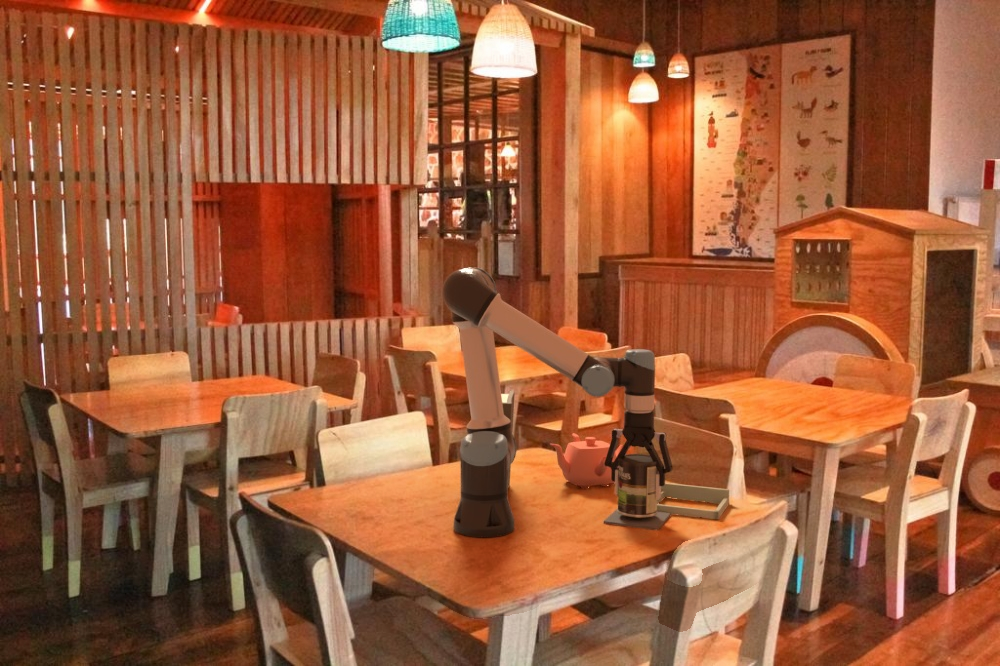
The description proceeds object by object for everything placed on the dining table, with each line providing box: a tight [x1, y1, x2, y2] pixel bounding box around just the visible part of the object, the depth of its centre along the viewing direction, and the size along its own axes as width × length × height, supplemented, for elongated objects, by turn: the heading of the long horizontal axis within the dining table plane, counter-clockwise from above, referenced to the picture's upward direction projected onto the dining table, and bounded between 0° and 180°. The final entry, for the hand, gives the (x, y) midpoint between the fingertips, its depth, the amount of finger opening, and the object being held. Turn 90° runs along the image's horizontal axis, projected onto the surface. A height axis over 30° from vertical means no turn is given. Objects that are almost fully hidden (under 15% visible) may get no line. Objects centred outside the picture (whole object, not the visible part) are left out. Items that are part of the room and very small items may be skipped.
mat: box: [603, 507, 672, 531], centre depth 246 cm, size 14×14×1 cm
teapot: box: [549, 432, 624, 489], centre depth 280 cm, size 18×18×14 cm
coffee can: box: [617, 453, 658, 518], centre depth 245 cm, size 10×10×14 cm
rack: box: [657, 482, 730, 520], centre depth 258 cm, size 16×26×5 cm, turn 67°
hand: (637, 495), depth 245 cm, fingers closed on coffee can, 10 cm apart
